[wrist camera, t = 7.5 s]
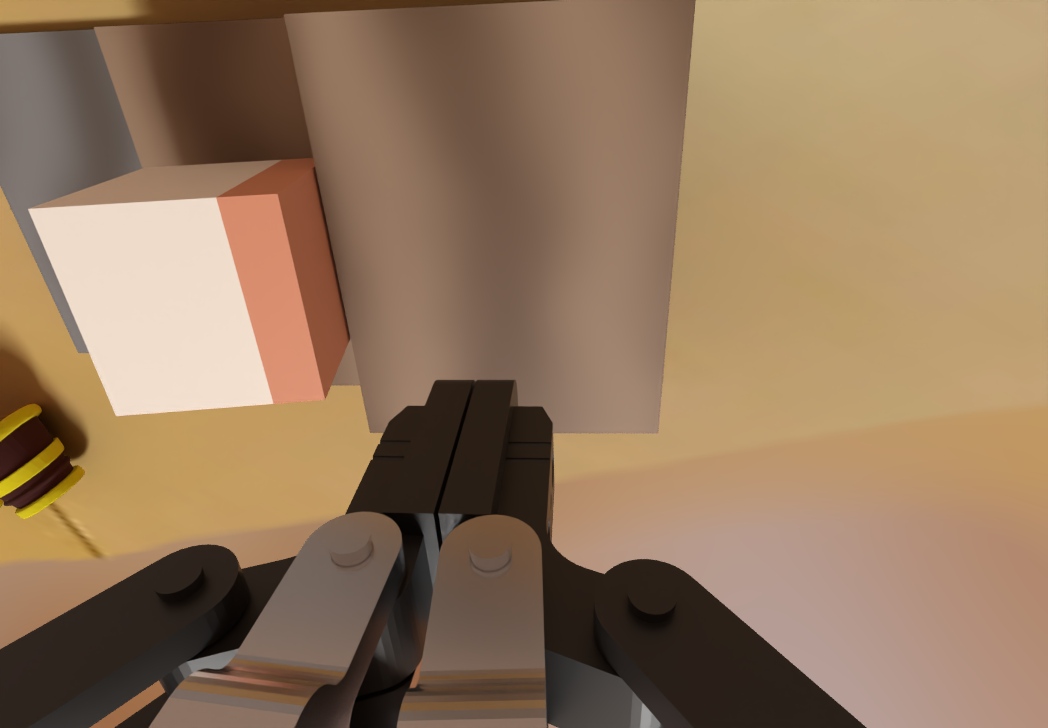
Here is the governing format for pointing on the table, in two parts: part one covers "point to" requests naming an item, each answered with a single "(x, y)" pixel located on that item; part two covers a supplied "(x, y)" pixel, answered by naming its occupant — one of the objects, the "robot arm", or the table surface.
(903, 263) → the table surface
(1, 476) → the opera glasses
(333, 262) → the cube
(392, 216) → the stair block
